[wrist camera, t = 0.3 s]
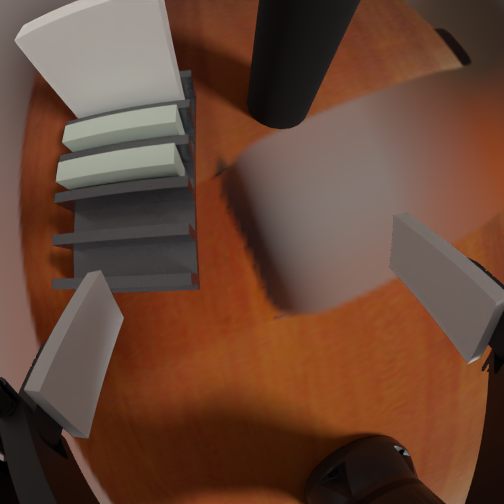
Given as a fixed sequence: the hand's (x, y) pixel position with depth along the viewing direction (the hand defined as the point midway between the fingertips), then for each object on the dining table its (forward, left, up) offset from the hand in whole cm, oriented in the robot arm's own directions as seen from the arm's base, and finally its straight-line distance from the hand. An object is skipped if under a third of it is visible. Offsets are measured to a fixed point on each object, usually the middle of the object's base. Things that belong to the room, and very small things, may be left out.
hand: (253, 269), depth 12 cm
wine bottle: (+20, -6, -18) cm, 28 cm away
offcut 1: (+15, +11, -16) cm, 25 cm away
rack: (+10, +11, -18) cm, 23 cm away
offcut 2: (+10, +11, -16) cm, 22 cm away
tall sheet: (+19, +11, -16) cm, 27 cm away
